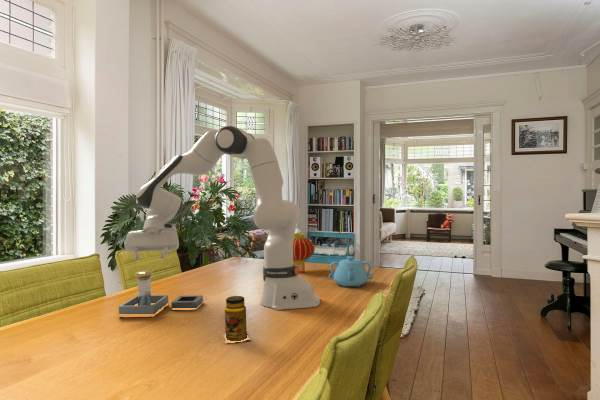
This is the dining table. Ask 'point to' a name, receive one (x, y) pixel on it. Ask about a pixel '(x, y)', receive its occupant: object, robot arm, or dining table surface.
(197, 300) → the blue-grey square holder
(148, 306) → the tray
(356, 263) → the blue handled pot
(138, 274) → the glass jar
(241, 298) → the condiment
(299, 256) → the lantern
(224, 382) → the dining table surface
